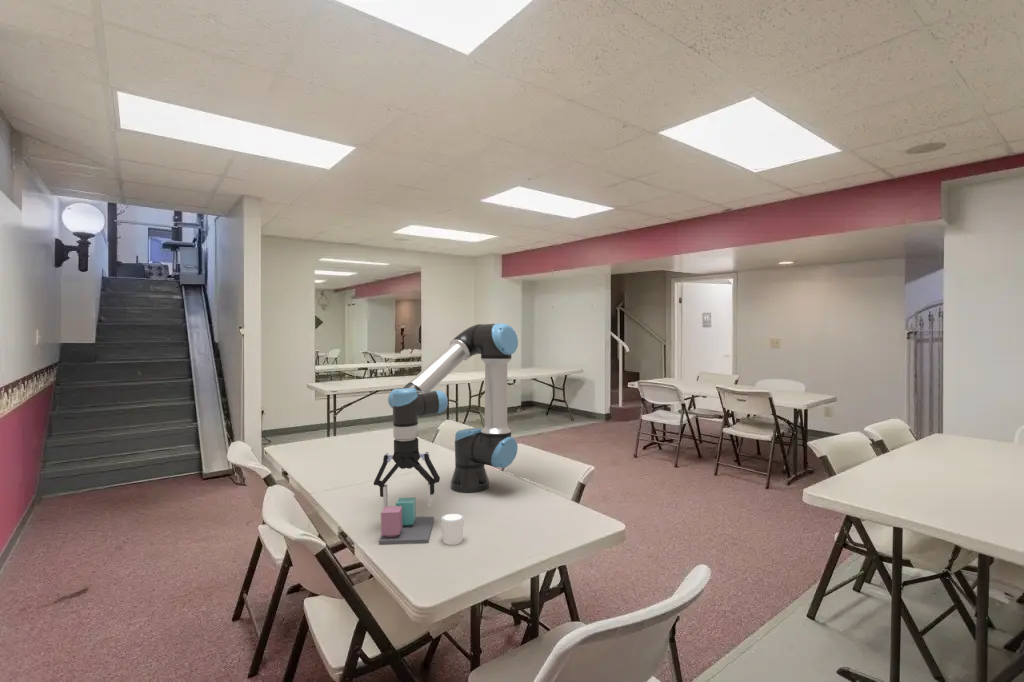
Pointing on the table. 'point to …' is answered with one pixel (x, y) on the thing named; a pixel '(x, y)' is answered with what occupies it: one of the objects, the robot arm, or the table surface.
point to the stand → (403, 528)
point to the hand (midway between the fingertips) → (407, 505)
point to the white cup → (452, 528)
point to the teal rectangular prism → (407, 509)
